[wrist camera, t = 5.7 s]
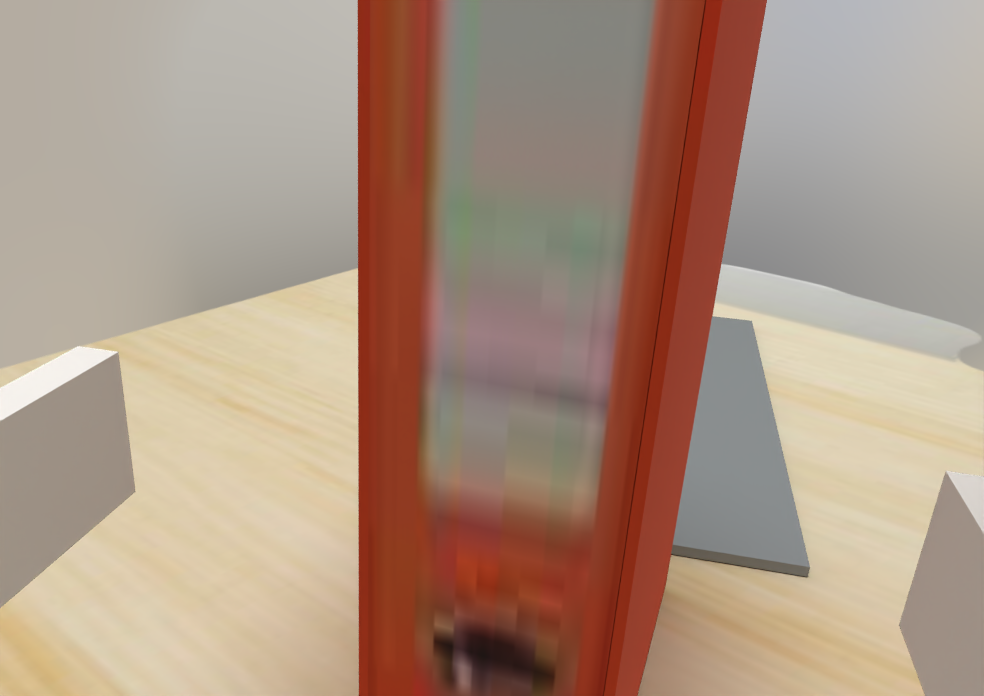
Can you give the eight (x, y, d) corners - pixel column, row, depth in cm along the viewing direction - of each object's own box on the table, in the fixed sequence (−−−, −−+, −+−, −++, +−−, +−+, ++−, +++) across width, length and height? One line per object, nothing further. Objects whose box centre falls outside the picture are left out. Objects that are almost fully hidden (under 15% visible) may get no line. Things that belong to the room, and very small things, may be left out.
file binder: (671, 590, 41) (793, -158, 29) (590, 922, 26) (778, -364, 14) (516, 550, 43) (569, -156, 31) (359, 833, 28) (342, -330, 16)
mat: (750, 326, 77) (751, 320, 77) (807, 576, 42) (809, 567, 42) (498, 297, 81) (499, 291, 81) (363, 502, 46) (363, 493, 46)
